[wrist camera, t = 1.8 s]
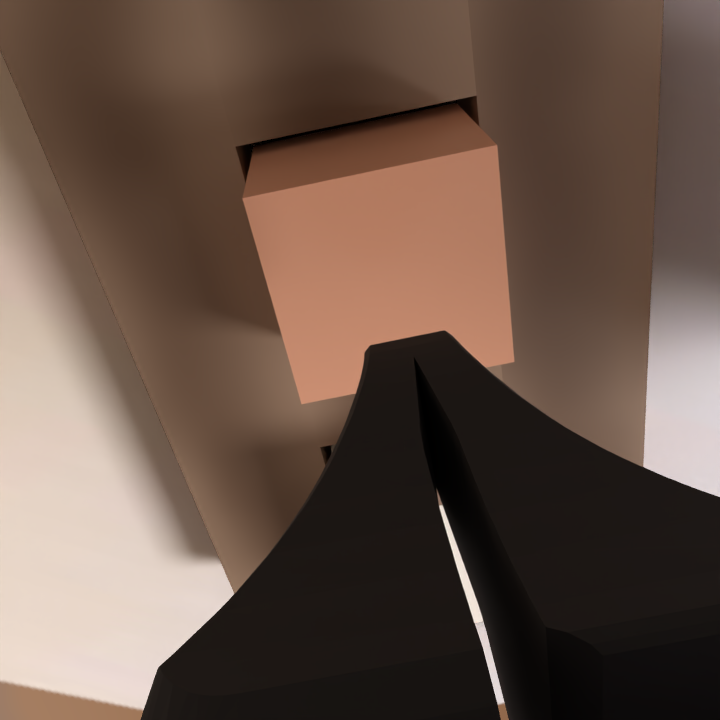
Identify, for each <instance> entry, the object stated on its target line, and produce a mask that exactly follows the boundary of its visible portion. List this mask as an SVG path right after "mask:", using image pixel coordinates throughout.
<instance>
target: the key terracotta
mask: <svg viewBox="0 0 720 720" xmlns="http://www.w3.org/2000/svg"><path fill="white" fill-rule="evenodd" d="M242 199H243V202H244V206H245V209H246V213H247V216H248V220H249V223H250V227H251V230H252V233H253V237H254V240H255V244H256V247H257V251H258V254H259V258H260V261H261V265H262V268H263V272H264V275H265V279H266V282H267V286H268V289H269V293H270V296H271V300H272V303H273V307H274V310H275V314H276V317H277V320H278V324H279V327H280V331H281V334H282V338H283V341H284V345H285V348H286V352H287V355H288V359H289V362H290V366H291V369H292V373H293V376H294V380H295V383H296V387H297V390H298V394H299V397H300V401H301V404H305V403H310V402H315V401H320V400H325V399H331V398H336V397H341V396H346V395H351V394H356V391H357V388H358V384H359V381H360V377H361V373H362V369H363V363H364V353H365V351H366V350H367V349H368V347H369V346H370V345H374V344H379V343H384V342H388V341H393V340H398V339H403V338H408V337H413V336H418V335H423V334H428V333H433V332H438V331H443V330H445V331H447V332H448V333H450V334H451V335H452V336H453V337H454V338H455V339H456V340H457V341H458V342H459V343H460V344H461V345H462V346H463V347H464V348H465V349H466V350H467V351H468V352H469V353H470V354H471V355H472V356H473V357H474V358H476V359H477V360H478V361H479V362H480V363H481V364H482V365H483V366H484V367H485V368H487V367H492V366H497V365H502V364H507V363H512V362H514V351H513V338H512V325H511V313H510V300H509V287H508V275H507V262H506V249H505V237H504V224H503V211H502V199H501V186H500V173H499V161H498V148H497V144H496V143H495V142H494V141H493V140H492V139H491V138H490V137H489V136H488V135H487V134H486V133H485V132H484V131H483V130H482V129H481V128H480V127H479V126H478V125H477V124H476V123H475V122H474V121H473V120H472V119H471V118H470V117H469V116H468V115H467V113H466V112H465V111H464V110H463V109H462V108H461V107H460V106H459V105H458V104H457V103H454V104H450V105H445V106H440V107H436V108H431V109H426V110H421V111H417V112H412V113H407V114H403V115H398V116H393V117H388V118H384V119H379V120H374V121H370V122H365V123H360V124H355V125H351V126H346V127H341V128H337V129H332V130H327V131H322V132H318V133H313V134H308V135H304V136H299V137H294V138H289V139H285V140H280V141H275V142H270V143H266V144H261V145H256V146H254V149H253V153H252V158H251V162H250V167H249V171H248V175H247V180H246V184H245V189H244V193H243V198H242Z"/></svg>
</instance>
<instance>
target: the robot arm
mask: <svg viewBox="0 0 720 720" xmlns="http://www.w3.org/2000/svg"><path fill="white" fill-rule="evenodd" d="M437 491H438V494H439V497H440V499H441V502H442V505H443V508H444V511H445V513H446V516H447V519H448V522H449V525H450V527H451V530H452V533H453V536H454V539H455V541H456V544H457V547H458V550H459V552H460V555H461V558H462V561H463V563H464V566H465V569H466V572H467V575H468V577H469V580H470V583H471V586H472V588H473V591H474V594H475V597H476V600H477V602H478V605H479V609H480V612H481V615H482V618H483V621H484V625H485V628H486V631H487V635H488V639H489V643H490V647H491V651H492V655H493V659H494V663H495V666H496V670H497V674H498V678H499V682H500V686H501V690H502V694H503V698H504V702H505V706H506V710H507V714H508V718H509V720H720V497H718V496H715V495H712V494H709V493H706V492H703V491H700V490H698V489H695V488H692V487H690V486H687V485H685V484H682V483H679V482H677V481H674V480H672V479H669V478H667V477H664V476H662V475H660V474H657V473H655V472H653V471H651V470H648V469H646V468H644V467H642V466H639V465H637V464H635V463H633V462H631V461H628V460H626V459H624V458H622V457H620V456H618V455H616V454H614V453H612V452H610V451H608V450H605V449H604V448H602V447H600V446H598V445H596V444H594V443H592V442H591V441H589V440H587V439H585V438H584V437H582V436H580V435H578V434H576V433H575V432H573V431H571V430H569V429H568V428H566V427H564V426H563V425H561V424H560V423H558V422H557V421H555V420H554V419H552V418H551V417H549V416H548V415H546V414H545V413H543V412H542V411H540V410H539V409H538V408H536V407H535V406H533V405H532V404H530V403H529V402H528V401H526V400H525V399H524V398H522V397H521V396H520V395H518V394H517V393H516V392H515V391H513V390H512V389H511V388H510V387H508V386H507V385H506V384H505V383H503V382H502V381H501V380H500V379H498V378H497V377H496V376H495V375H494V374H492V373H491V372H490V371H489V370H488V369H487V368H485V367H484V366H483V365H482V364H481V363H480V362H479V361H478V360H477V359H476V358H474V357H473V356H472V355H471V354H470V353H469V352H468V351H467V350H466V349H465V348H464V347H463V346H462V345H461V344H460V343H459V342H458V341H457V340H456V339H455V338H454V337H453V336H452V335H451V334H450V333H448V332H447V331H445V330H443V331H438V332H433V333H428V334H423V335H418V336H413V337H408V338H403V339H398V340H393V341H388V342H384V343H379V344H374V345H370V346H369V347H368V349H367V350H366V351H365V353H364V363H363V369H362V373H361V377H360V381H359V384H358V388H357V391H356V395H355V397H354V400H353V403H352V406H351V409H350V411H349V414H348V417H347V420H346V422H345V425H344V427H343V430H342V432H341V434H340V436H339V438H338V441H337V443H336V445H335V447H334V449H333V452H332V454H331V456H330V458H329V460H328V462H327V464H326V466H325V468H324V470H323V472H322V474H321V475H320V477H319V479H318V481H317V483H316V484H315V486H314V488H313V489H312V491H311V493H310V494H309V496H308V498H307V499H306V501H305V503H304V504H303V506H302V507H301V509H300V510H299V512H298V513H297V515H296V516H295V518H294V519H293V521H292V522H291V524H290V525H289V526H288V528H287V529H286V531H285V532H284V534H283V535H282V537H281V538H280V539H279V541H278V542H277V543H276V545H275V546H274V547H273V549H272V550H271V551H270V553H269V554H268V555H267V556H266V558H265V559H264V560H263V561H262V562H261V563H260V565H259V566H258V567H257V568H256V569H255V570H254V572H253V573H252V574H251V575H250V576H249V578H248V579H247V580H246V581H245V582H244V583H243V585H242V586H241V587H240V588H239V589H238V590H237V592H236V593H235V594H234V595H233V596H232V597H231V598H230V599H229V601H228V602H227V603H226V604H225V605H224V606H223V607H222V608H221V609H220V610H219V611H218V612H217V613H216V614H215V615H214V616H213V617H212V618H211V619H210V620H209V621H207V622H206V623H205V624H204V625H203V626H202V627H201V628H200V629H199V630H198V631H197V632H196V633H195V634H194V635H193V636H192V637H191V638H190V639H189V640H188V641H187V642H185V643H184V644H183V645H182V646H181V647H180V648H179V649H178V650H177V651H176V652H175V653H174V654H173V655H172V656H171V657H169V658H168V659H167V660H166V661H165V662H164V663H163V664H162V665H160V666H159V668H158V670H157V672H156V675H155V678H154V681H153V684H152V687H151V690H150V693H149V696H148V699H147V702H146V705H145V708H144V711H143V714H142V717H141V720H501V719H500V715H499V710H498V705H497V701H496V697H495V693H494V689H493V686H492V682H491V678H490V674H489V670H488V666H487V663H486V659H485V655H484V651H483V647H482V644H481V641H480V638H479V635H478V632H477V629H476V626H475V623H474V620H473V617H472V614H471V611H470V607H469V604H468V601H467V598H466V595H465V591H464V588H463V585H462V582H461V579H460V575H459V572H458V569H457V566H456V562H455V559H454V556H453V552H452V549H451V545H450V542H449V539H448V535H447V532H446V528H445V525H444V522H443V518H442V514H441V511H440V507H439V503H438V495H437Z"/></svg>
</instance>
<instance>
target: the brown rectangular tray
mask: <svg viewBox="0 0 720 720" xmlns="http://www.w3.org/2000/svg"><path fill="white" fill-rule="evenodd" d="M663 8H664V0H0V50H1V53H2V55H3V57H4V60H5V62H6V64H7V67H8V69H9V71H10V74H11V76H12V78H13V81H14V83H15V85H16V88H17V90H18V92H19V95H20V97H21V99H22V101H23V104H24V106H25V108H26V111H27V113H28V115H29V118H30V120H31V122H32V125H33V127H34V129H35V132H36V134H37V136H38V139H39V141H40V143H41V146H42V148H43V150H44V153H45V155H46V157H47V160H48V162H49V164H50V167H51V169H52V171H53V173H54V176H55V178H56V180H57V183H58V185H59V187H60V190H61V192H62V194H63V197H64V199H65V201H66V204H67V206H68V208H69V211H70V213H71V215H72V218H73V220H74V222H75V225H76V227H77V229H78V232H79V234H80V236H81V239H82V241H83V243H84V245H85V248H86V250H87V252H88V255H89V257H90V259H91V262H92V264H93V266H94V269H95V271H96V273H97V276H98V278H99V280H100V283H101V285H102V287H103V290H104V292H105V294H106V297H107V299H108V301H109V304H110V306H111V308H112V310H113V313H114V315H115V317H116V320H117V322H118V324H119V327H120V329H121V331H122V334H123V336H124V338H125V341H126V343H127V345H128V348H129V350H130V352H131V355H132V357H133V359H134V362H135V364H136V366H137V369H138V371H139V373H140V376H141V378H142V380H143V382H144V385H145V387H146V389H147V392H148V394H149V396H150V399H151V401H152V403H153V406H154V408H155V410H156V413H157V415H158V417H159V420H160V422H161V424H162V427H163V429H164V431H165V434H166V436H167V438H168V441H169V443H170V445H171V447H172V450H173V452H174V454H175V457H176V459H177V461H178V464H179V466H180V468H181V471H182V473H183V475H184V478H185V480H186V482H187V485H188V487H189V489H190V492H191V494H192V496H193V499H194V501H195V503H196V506H197V508H198V510H199V513H200V515H201V517H202V519H203V522H204V524H205V526H206V529H207V531H208V533H209V536H210V538H211V540H212V543H213V545H214V547H215V550H216V552H217V554H218V557H219V559H220V561H221V564H222V566H223V568H224V571H225V573H226V575H227V578H228V580H229V582H230V584H231V587H232V589H233V591H234V594H235V593H236V592H237V590H238V589H239V588H240V587H241V586H242V585H243V583H244V582H245V581H246V580H247V579H248V578H249V576H250V575H251V574H252V573H253V572H254V570H255V569H256V568H257V567H258V566H259V565H260V563H261V562H262V561H263V560H264V559H265V558H266V556H267V555H268V554H269V553H270V551H271V550H272V549H273V547H274V546H275V545H276V543H277V542H278V541H279V539H280V538H281V537H282V535H283V534H284V532H285V531H286V529H287V528H288V526H289V525H290V524H291V522H292V521H293V519H294V518H295V516H296V515H297V513H298V512H299V510H300V509H301V507H302V506H303V504H304V503H305V501H306V499H307V498H308V496H309V494H310V493H311V491H312V489H313V488H314V486H315V484H316V483H317V481H318V479H319V477H320V475H321V474H322V472H323V470H324V468H325V466H326V464H327V462H328V460H329V458H330V456H331V454H332V450H331V446H330V445H334V444H336V443H337V441H338V438H339V436H340V434H341V432H342V430H343V427H344V425H345V422H346V420H347V417H348V414H349V411H350V409H351V406H352V403H353V400H354V397H355V395H356V394H351V395H346V396H341V397H336V398H331V399H325V400H320V401H315V402H310V403H305V404H301V401H300V397H299V394H298V390H297V387H296V383H295V380H294V376H293V373H292V369H291V366H290V362H289V359H288V355H287V352H286V348H285V345H284V341H283V338H282V334H281V331H280V327H279V324H278V320H277V317H276V314H275V310H274V307H273V303H272V300H271V296H270V293H269V289H268V286H267V282H266V279H265V275H264V272H263V268H262V265H261V261H260V258H259V254H258V251H257V247H256V244H255V240H254V237H253V233H252V230H251V227H250V223H249V220H248V216H247V213H246V209H245V206H244V202H243V199H242V198H243V193H244V189H245V184H246V180H247V175H248V171H249V167H250V162H251V158H252V154H251V150H250V146H249V144H250V143H255V142H260V141H265V140H269V139H274V138H279V137H283V136H288V135H293V134H298V133H302V132H307V131H312V130H316V129H321V128H326V127H331V126H335V125H340V124H345V123H349V122H354V121H359V120H364V119H368V118H373V117H378V116H382V115H387V114H392V113H397V112H401V111H406V110H411V109H415V108H420V107H425V106H430V105H434V104H439V103H444V102H448V101H453V100H458V105H459V106H460V107H461V108H462V109H463V110H464V111H465V112H466V113H467V115H468V116H469V117H470V118H471V119H472V120H473V121H474V122H475V123H476V124H477V125H478V126H479V127H480V128H481V129H482V130H483V131H484V132H485V133H486V134H487V135H488V136H489V137H490V138H491V139H492V140H493V141H494V142H495V143H496V144H497V148H498V161H499V173H500V186H501V199H502V211H503V224H504V237H505V249H506V262H507V275H508V287H509V300H510V313H511V325H512V338H513V351H514V362H512V363H507V364H502V365H497V366H492V367H487V369H488V370H489V371H490V372H491V373H492V374H494V375H495V376H496V377H497V378H498V379H500V380H501V381H502V382H503V383H505V384H506V385H507V386H508V387H510V388H511V389H512V390H513V391H515V392H516V393H517V394H518V395H520V396H521V397H522V398H524V399H525V400H526V401H528V402H529V403H530V404H532V405H533V406H535V407H536V408H538V409H539V410H540V411H542V412H543V413H545V414H546V415H548V416H549V417H551V418H552V419H554V420H555V421H557V422H558V423H560V424H561V425H563V426H564V427H566V428H568V429H569V430H571V431H573V432H575V433H576V434H578V435H580V436H582V437H584V438H585V439H587V440H589V441H591V442H592V443H594V444H596V445H598V446H600V447H602V448H604V449H605V450H608V451H610V452H612V453H614V454H616V455H618V456H620V457H622V458H624V459H626V460H628V461H631V462H633V463H635V464H637V465H639V466H642V467H643V458H644V435H645V413H646V390H647V368H648V345H649V323H650V300H651V278H652V255H653V233H654V210H655V188H656V165H657V143H658V120H659V98H660V75H661V53H662V30H663Z"/></svg>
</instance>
